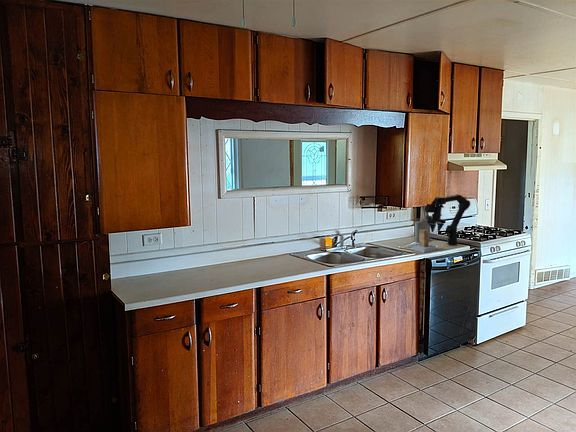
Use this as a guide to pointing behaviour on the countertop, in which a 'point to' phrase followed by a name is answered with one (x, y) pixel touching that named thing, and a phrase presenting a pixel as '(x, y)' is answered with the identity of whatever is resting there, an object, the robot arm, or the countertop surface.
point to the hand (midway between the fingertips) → (435, 232)
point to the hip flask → (421, 228)
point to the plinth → (424, 248)
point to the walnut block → (423, 238)
